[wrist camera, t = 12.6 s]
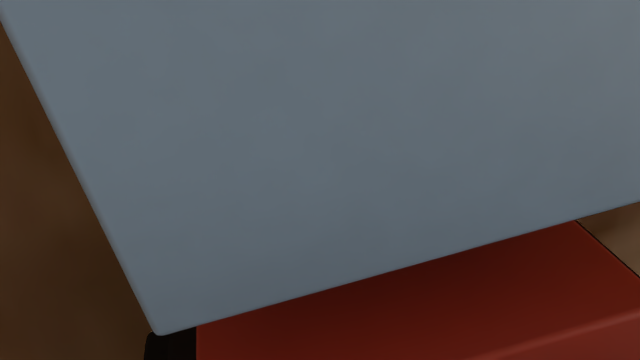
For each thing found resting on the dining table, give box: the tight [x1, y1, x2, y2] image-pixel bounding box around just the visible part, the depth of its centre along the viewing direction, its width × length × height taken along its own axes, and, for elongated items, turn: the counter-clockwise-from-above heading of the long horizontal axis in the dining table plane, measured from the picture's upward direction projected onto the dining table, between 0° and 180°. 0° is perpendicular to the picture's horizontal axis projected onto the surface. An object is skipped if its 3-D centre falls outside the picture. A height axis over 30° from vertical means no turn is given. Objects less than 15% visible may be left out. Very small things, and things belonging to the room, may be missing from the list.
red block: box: [196, 220, 640, 360], centre depth 9 cm, size 5×5×5 cm
